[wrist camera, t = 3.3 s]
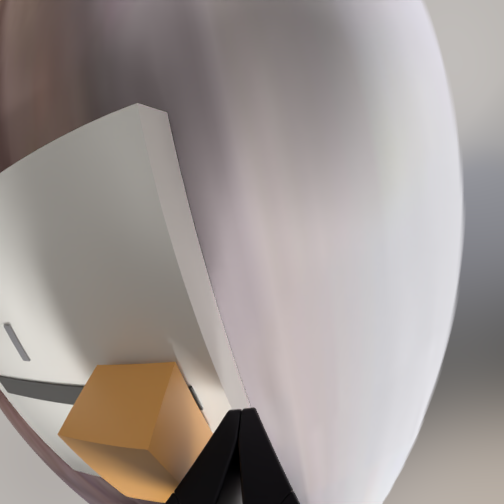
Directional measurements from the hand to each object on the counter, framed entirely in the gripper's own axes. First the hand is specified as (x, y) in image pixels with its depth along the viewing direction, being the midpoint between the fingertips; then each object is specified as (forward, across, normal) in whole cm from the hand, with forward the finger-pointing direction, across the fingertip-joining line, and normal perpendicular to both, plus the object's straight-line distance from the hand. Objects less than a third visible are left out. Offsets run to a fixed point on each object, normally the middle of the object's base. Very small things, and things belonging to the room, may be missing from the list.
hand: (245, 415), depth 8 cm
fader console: (+3, +8, 0) cm, 8 cm away
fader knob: (+1, +3, 0) cm, 3 cm away
